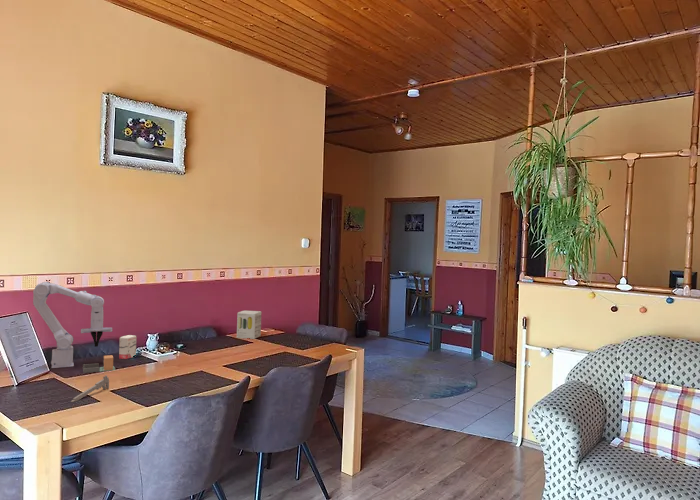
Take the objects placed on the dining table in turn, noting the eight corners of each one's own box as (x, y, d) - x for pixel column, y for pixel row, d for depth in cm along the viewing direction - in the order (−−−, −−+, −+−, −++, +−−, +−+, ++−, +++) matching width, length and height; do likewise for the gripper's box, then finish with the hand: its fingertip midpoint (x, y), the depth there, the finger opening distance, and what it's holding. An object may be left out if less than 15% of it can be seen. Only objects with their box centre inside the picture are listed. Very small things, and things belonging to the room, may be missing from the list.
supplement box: (236, 337, 337) (236, 312, 337) (243, 334, 350) (244, 310, 350) (254, 339, 335) (255, 313, 334) (261, 335, 348) (261, 311, 347)
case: (83, 373, 236) (83, 368, 236) (82, 366, 248) (82, 361, 248) (99, 372, 239) (99, 367, 239) (98, 365, 252) (98, 360, 252)
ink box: (126, 359, 266) (126, 338, 266) (118, 359, 267) (118, 337, 267) (136, 356, 274) (136, 335, 274) (128, 355, 275) (129, 334, 275)
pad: (99, 372, 239) (99, 371, 239) (98, 368, 247) (98, 367, 247) (115, 370, 243) (115, 370, 243) (114, 366, 250) (114, 365, 250)
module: (103, 370, 241) (104, 358, 241) (103, 367, 246) (103, 355, 246) (112, 369, 243) (113, 357, 243) (112, 366, 248) (112, 355, 248)
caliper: (106, 388, 215) (107, 374, 215) (109, 388, 215) (109, 374, 215) (70, 402, 195) (70, 387, 195) (72, 403, 195) (73, 387, 195)
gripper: (81, 321, 247) (80, 348, 247) (113, 320, 254) (112, 346, 254) (80, 319, 253) (80, 346, 253) (112, 318, 260) (111, 344, 260)
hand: (96, 346), depth 254 cm, fingers closed
